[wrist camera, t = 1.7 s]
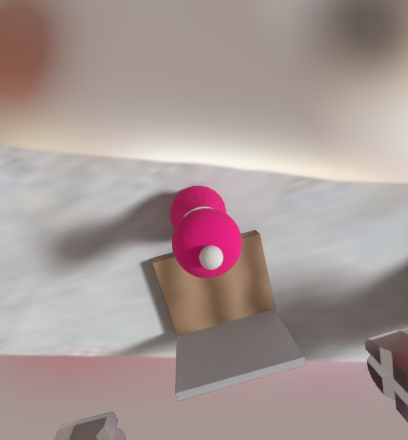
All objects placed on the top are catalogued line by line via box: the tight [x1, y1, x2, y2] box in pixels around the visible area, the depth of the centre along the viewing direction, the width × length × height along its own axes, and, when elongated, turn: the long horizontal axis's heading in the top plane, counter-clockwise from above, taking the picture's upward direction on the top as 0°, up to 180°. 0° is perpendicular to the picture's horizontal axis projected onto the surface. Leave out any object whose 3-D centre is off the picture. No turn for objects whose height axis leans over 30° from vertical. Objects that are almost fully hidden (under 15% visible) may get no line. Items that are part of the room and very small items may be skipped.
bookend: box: [153, 230, 306, 401], centre depth 35 cm, size 16×14×12 cm
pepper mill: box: [170, 186, 242, 278], centre depth 28 cm, size 7×7×20 cm
